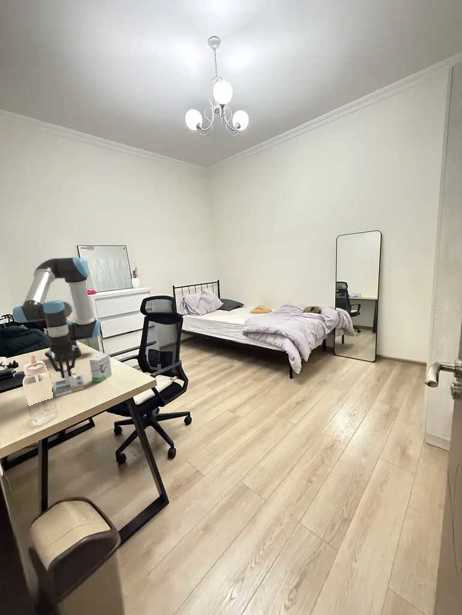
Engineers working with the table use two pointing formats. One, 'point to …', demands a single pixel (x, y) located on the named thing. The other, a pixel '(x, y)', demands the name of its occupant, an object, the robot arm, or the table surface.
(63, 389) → the switch bank
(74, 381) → the tab
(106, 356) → the ink box
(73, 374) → the tab
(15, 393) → the table surface
